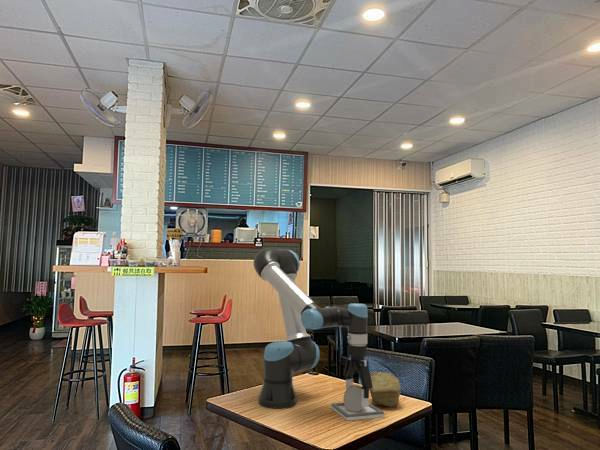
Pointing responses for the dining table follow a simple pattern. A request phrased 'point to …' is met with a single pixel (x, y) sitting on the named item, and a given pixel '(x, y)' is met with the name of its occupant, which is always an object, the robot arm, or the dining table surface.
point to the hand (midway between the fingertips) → (356, 401)
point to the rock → (385, 389)
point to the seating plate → (362, 414)
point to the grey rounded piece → (353, 398)
